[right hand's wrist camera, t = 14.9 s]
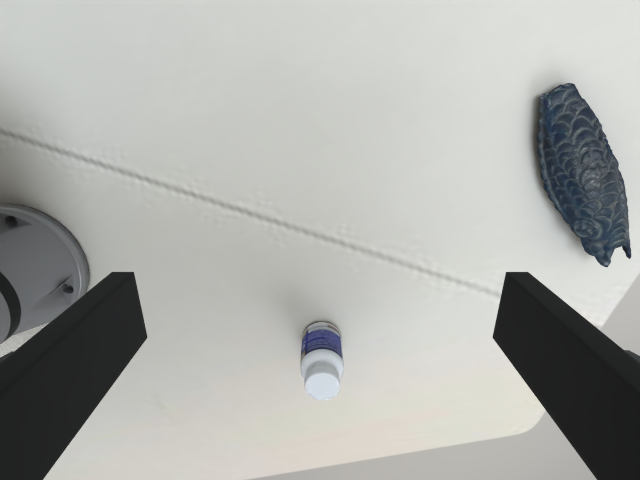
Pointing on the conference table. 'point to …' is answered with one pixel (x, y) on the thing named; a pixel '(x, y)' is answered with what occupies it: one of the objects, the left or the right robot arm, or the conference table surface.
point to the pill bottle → (322, 360)
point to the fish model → (582, 173)
